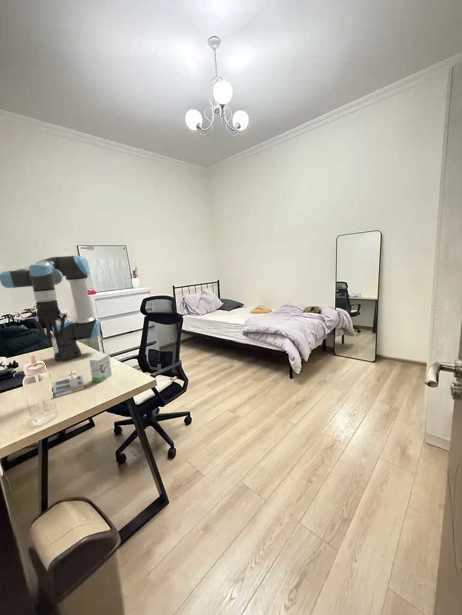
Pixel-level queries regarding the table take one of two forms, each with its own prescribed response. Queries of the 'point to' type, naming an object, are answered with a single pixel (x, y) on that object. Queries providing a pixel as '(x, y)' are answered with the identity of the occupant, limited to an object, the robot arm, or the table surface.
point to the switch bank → (67, 387)
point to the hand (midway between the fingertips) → (56, 352)
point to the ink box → (100, 368)
